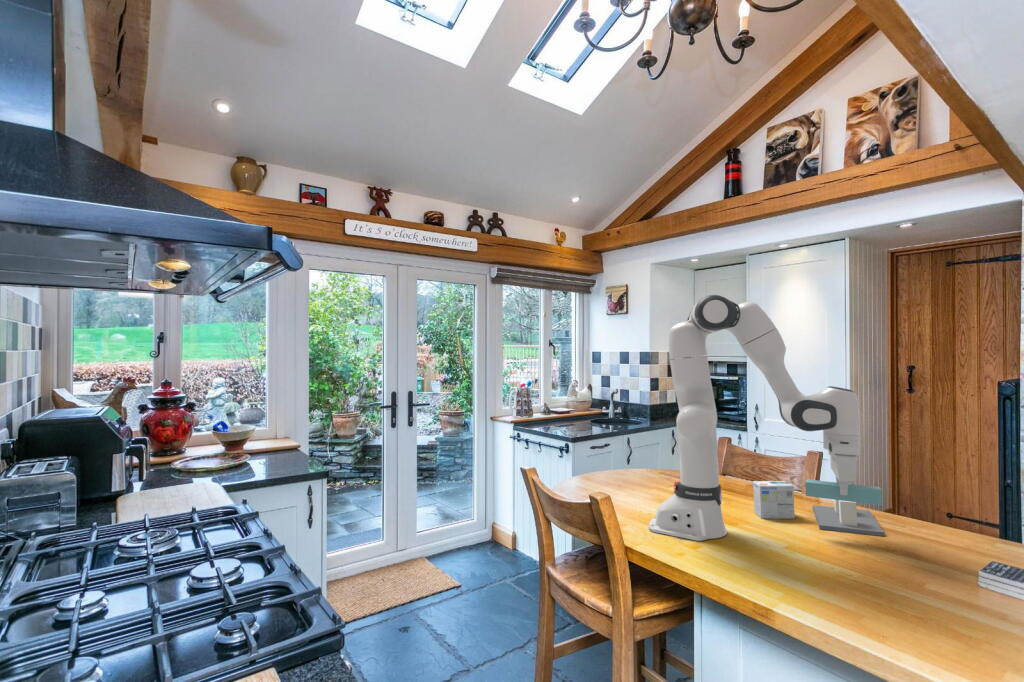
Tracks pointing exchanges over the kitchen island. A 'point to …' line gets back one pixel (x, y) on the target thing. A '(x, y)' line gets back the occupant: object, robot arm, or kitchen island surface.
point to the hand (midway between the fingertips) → (842, 492)
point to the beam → (854, 495)
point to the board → (835, 525)
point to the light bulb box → (773, 499)
